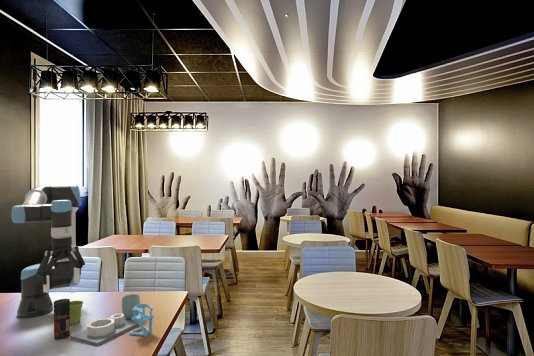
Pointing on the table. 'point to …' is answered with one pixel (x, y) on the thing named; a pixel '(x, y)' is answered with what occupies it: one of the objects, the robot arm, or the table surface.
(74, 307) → the plant pot
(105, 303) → the table surface
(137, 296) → the cup
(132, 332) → the chair
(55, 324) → the deodorant
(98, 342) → the bore plate
